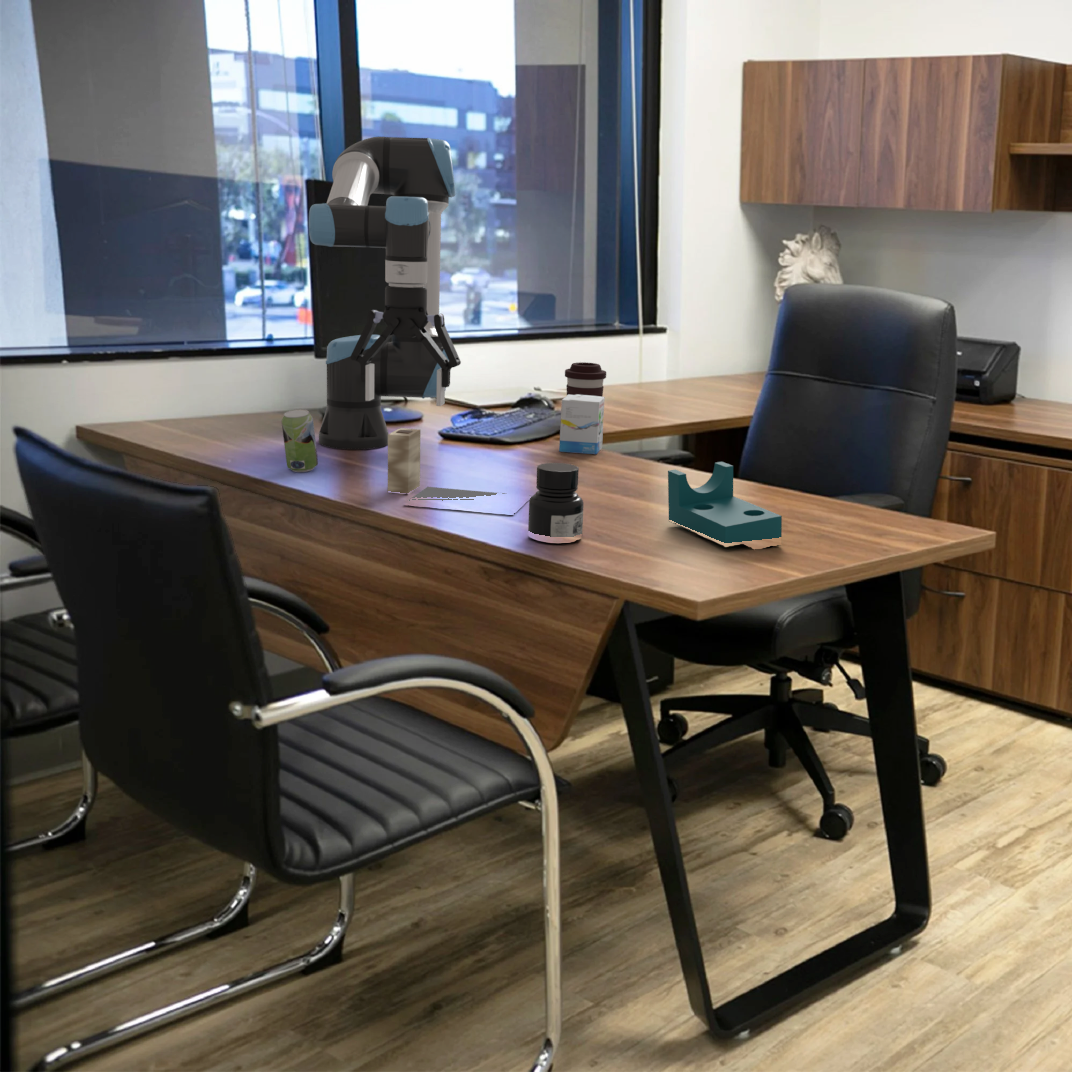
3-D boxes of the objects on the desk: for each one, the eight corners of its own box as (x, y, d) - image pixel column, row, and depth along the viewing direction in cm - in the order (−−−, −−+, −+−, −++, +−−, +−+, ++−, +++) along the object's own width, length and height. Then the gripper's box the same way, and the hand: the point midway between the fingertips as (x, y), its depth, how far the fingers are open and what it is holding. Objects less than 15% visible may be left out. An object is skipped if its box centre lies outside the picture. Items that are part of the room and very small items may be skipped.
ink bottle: (562, 549, 209) (565, 476, 206) (516, 539, 213) (518, 468, 210) (592, 537, 217) (596, 466, 214) (547, 528, 221) (550, 458, 218)
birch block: (387, 493, 242) (387, 433, 239) (399, 485, 249) (400, 427, 246) (408, 494, 241) (408, 435, 238) (419, 486, 248) (420, 428, 245)
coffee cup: (556, 427, 314) (559, 364, 310) (571, 421, 323) (573, 360, 319) (595, 431, 310) (598, 368, 306) (609, 425, 319) (612, 363, 315)
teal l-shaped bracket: (668, 529, 227) (667, 470, 223) (722, 519, 231) (721, 461, 228) (725, 556, 211) (725, 494, 208) (781, 545, 215) (782, 483, 212)
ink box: (596, 455, 283) (599, 401, 280) (558, 452, 285) (560, 399, 282) (602, 447, 291) (605, 395, 288) (565, 444, 293) (567, 393, 290)
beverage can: (323, 469, 260) (323, 409, 257) (305, 476, 253) (304, 414, 250) (295, 465, 262) (294, 406, 258) (276, 472, 255) (275, 411, 252)
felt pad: (404, 506, 233) (404, 503, 233) (427, 489, 246) (427, 486, 246) (513, 515, 229) (513, 513, 228) (531, 498, 242) (531, 495, 242)
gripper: (333, 282, 234) (333, 400, 239) (467, 290, 229) (464, 410, 234) (347, 280, 241) (348, 394, 247) (478, 287, 236) (475, 403, 241)
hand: (404, 402), depth 240 cm, fingers open, 13 cm apart
